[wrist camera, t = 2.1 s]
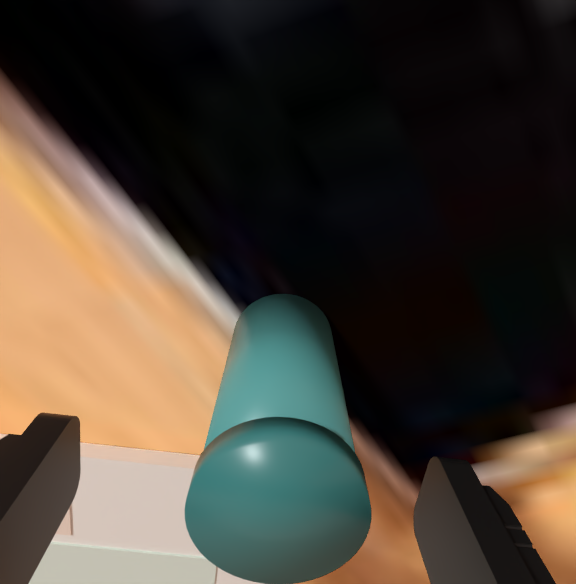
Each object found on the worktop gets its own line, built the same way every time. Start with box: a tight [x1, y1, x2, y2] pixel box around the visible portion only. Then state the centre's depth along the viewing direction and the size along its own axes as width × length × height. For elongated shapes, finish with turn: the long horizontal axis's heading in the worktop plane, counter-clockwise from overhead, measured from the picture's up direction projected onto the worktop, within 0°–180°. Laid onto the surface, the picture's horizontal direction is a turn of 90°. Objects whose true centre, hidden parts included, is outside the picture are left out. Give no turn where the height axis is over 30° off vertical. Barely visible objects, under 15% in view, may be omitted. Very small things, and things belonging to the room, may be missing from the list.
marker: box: [185, 294, 371, 584], centre depth 13 cm, size 4×4×8 cm
